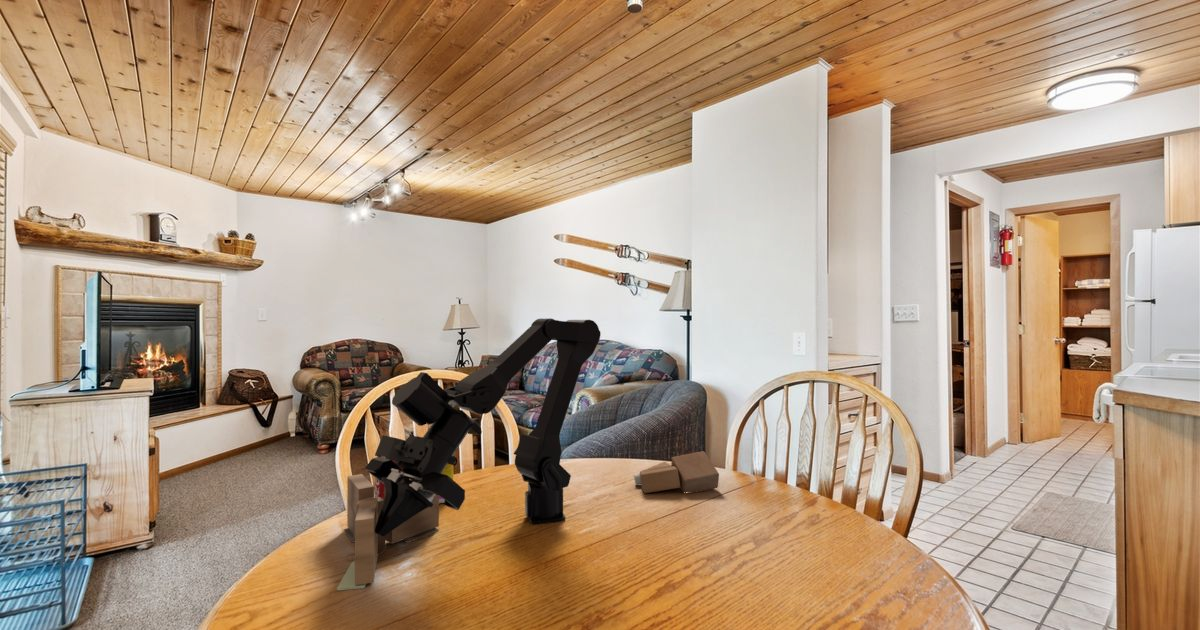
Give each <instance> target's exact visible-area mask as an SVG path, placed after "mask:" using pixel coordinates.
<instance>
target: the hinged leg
mask: <svg viewBox="0 0 1200 630" xmlns="http://www.w3.org/2000/svg"><path fill="white" fill-rule="evenodd" d="M377 521H378V498H367V499H362V500H361V501H360V505H359V508H358V512H357V515H356V519H355V542H354V562H355V585H360V584H366V583H367V584H370V583H371V584H372V583H374V580H375V576H376V568H377V563H378V556H379V555H378V534H376V533H375V528H376V525H377ZM376 562H377V563H376ZM367 584H366V585H367Z"/></svg>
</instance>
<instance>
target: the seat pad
mask: <svg viewBox="0 0 1200 630" xmlns="http://www.w3.org/2000/svg"><path fill="white" fill-rule="evenodd" d="M377 563H378V561H377V562H376V564H377ZM367 584H368V583H366V584H360V585H355V561H351V563H350V565H349V567H348V568H347V570H346V572H345V573H344V575H343V577H342V579H341V581H340V582H339V583H338V586H337V588H336V591H338V592H339V591H345V590H348V591H349V590H355V589H364V588H365V587H366V585H367Z"/></svg>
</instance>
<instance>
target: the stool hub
mask: <svg viewBox="0 0 1200 630" xmlns="http://www.w3.org/2000/svg"><path fill="white" fill-rule="evenodd" d="M410 480H411V479H410ZM418 483H420V482H418ZM346 487H347V490H346V491H347V495H346V496H347V501H346V502H347V506H346V507H347V512H346V513H347V525H346V526H347V528H344V529H343V531H344V533H345V535H347V537H348V539H349V541H350V543H355V519H356V515H357V512H358V508H359V505H360V501H361V500H362V499H367V498H378V518H379V515H380V512H381V509H382V506H383V503H384V499H385V495H386V490H385V486H384V498H381V497H375V485H374V484H372V483H371V482H370V481H369V480H368V478H366V477H365V475H363V473H359V474H351V475H347V486H346ZM431 503H433V504H434V505H433V506H432V507H428V508H426V509H424V510H423V511H421V512H419V513H418V514H416V515H414V516H413V517H411V518H410V519H408V520H407V521H405V522H404V523H402V524H401V525H399V526H398V527H397V528H395V529H394V530H392V531H391V532H389V533H388V534H386V535H385V536H380V535H378V555H377V556H379V555H381V554H383V553H384V552H385V551H386V542H387V543H390V544H391V545H392V544H395V543H398V542H401V541H403V542H406V543H410V542H413V541H416V540H419V539H420V538H423V537H426V536H428V535H429V536H430V535H432V534H434V533H437V532H439V529H438V527H440V525H439V524H440V522H439V521H440V518H439V517H440V515H439V514H440V513H439V512H440V509H439V508H440V504H439V495H435V496H434V498H433V499H432V501H431Z"/></svg>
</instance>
